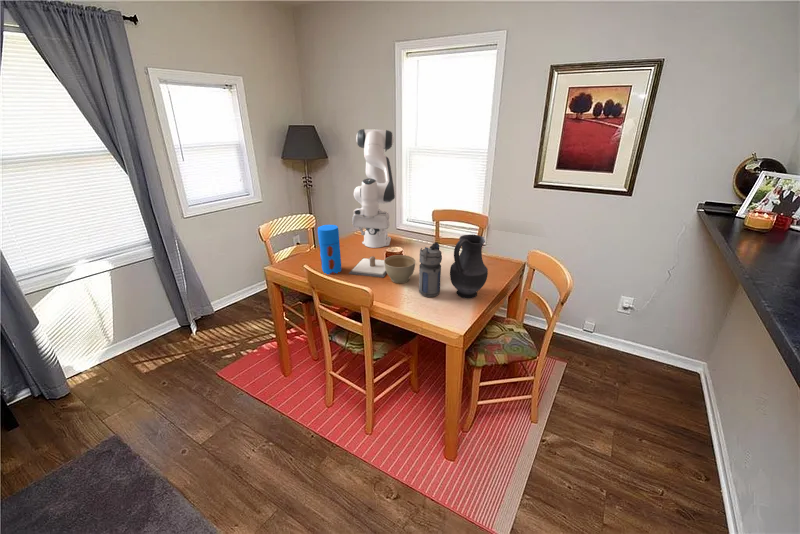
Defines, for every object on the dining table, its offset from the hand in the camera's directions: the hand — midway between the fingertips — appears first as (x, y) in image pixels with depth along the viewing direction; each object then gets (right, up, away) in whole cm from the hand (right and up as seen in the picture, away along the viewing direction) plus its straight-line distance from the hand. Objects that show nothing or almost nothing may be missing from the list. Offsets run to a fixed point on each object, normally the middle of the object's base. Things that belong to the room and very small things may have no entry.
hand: (371, 235), depth 188 cm
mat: (0, -18, +8) cm, 19 cm away
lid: (0, -17, +8) cm, 19 cm away
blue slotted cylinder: (-22, -19, +5) cm, 30 cm away
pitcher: (+47, -31, -23) cm, 60 cm away
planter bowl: (+16, -24, -6) cm, 29 cm away
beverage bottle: (+30, -30, -20) cm, 47 cm away
